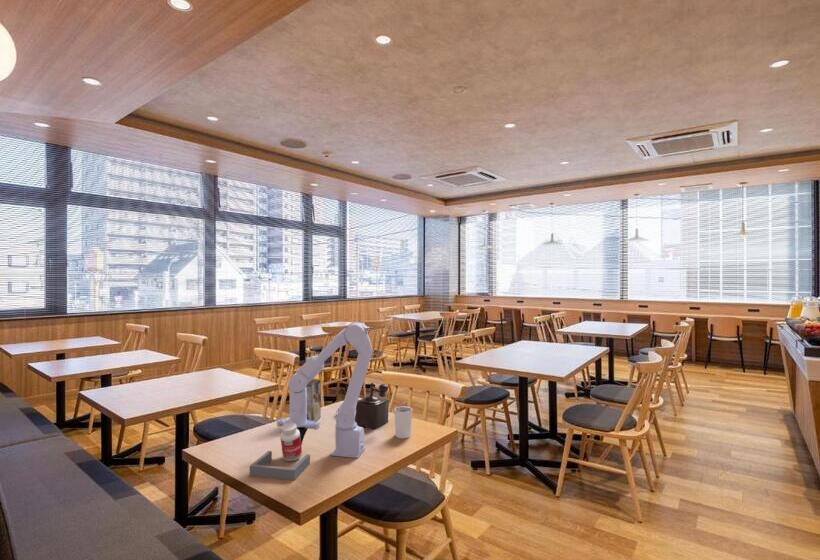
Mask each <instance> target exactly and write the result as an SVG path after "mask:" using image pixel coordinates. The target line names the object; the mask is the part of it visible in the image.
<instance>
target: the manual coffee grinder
mask: <svg viewBox="0 0 820 560" xmlns="http://www.w3.org/2000/svg"><path fill="white" fill-rule="evenodd" d="M369 389H370V395H366V396H365V397H362V399H360V400H358V402H357V405H356V415H355V422H356V423H357V426H359V427H363V428H365V429H371V430H375V429H379V428H381V427H383V426H385V425H386V424H388V422H389V403H390V402H389V399H385V397H386V396H387V395H386V392H388V391H389V386H388V385H387V384H386V383H382V384H379V386H378V388H376V387H374V382H371V383H370V387H369ZM374 391H375V392H376V393H378V396H379V397H378V396H377V395H374Z"/></svg>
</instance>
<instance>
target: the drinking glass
mask: <svg viewBox="0 0 820 560" xmlns="http://www.w3.org/2000/svg"><path fill="white" fill-rule="evenodd" d="M412 418H413V408H412V407H409V406H406V405H405V406H396V407H395V408H394V427H395V428H394V430H395V431H394V433H395V434H394V435H395V437H396V438H399V439H407V438H408V439H409V438H410V437H412V420H413V419H412Z"/></svg>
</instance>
